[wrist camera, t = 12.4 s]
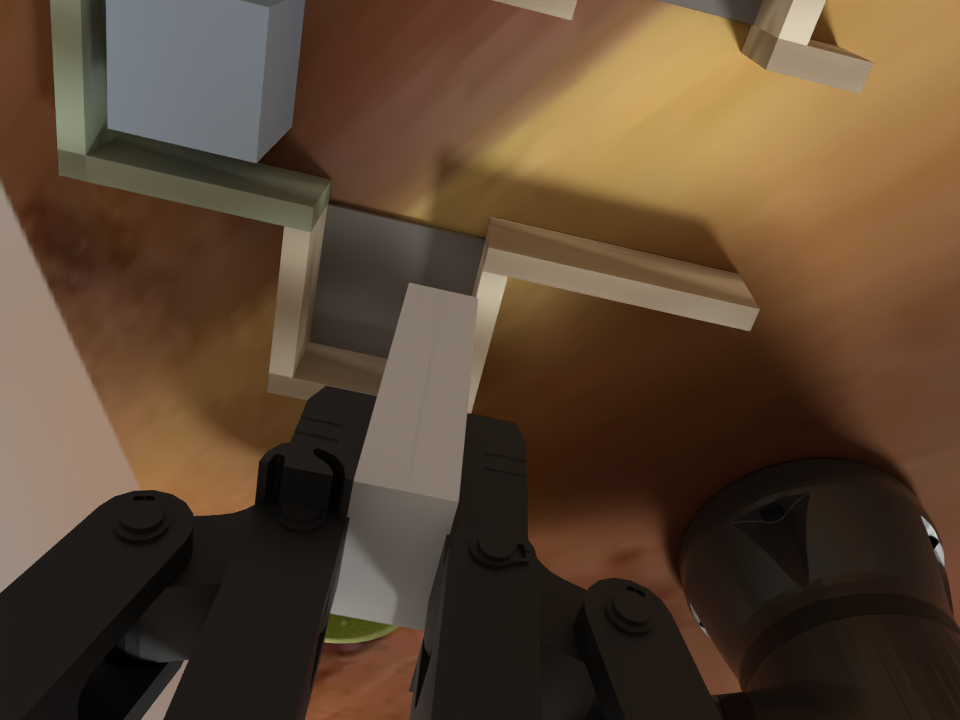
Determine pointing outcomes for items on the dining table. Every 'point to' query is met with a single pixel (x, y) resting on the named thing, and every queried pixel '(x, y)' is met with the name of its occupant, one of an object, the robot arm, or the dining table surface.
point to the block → (204, 72)
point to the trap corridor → (395, 242)
